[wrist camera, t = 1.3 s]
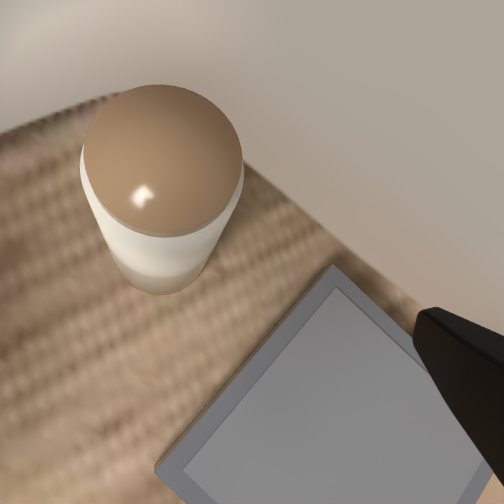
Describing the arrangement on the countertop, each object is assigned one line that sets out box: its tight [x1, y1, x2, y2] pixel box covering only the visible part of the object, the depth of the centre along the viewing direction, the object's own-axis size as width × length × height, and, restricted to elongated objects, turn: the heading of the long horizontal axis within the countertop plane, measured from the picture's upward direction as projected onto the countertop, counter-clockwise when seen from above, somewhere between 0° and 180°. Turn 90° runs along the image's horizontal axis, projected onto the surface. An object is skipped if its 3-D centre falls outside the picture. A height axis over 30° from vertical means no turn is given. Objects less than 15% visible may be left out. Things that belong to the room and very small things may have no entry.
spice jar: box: [80, 85, 244, 295], centre depth 17 cm, size 4×4×10 cm
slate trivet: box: [154, 264, 494, 504], centre depth 20 cm, size 12×12×1 cm
